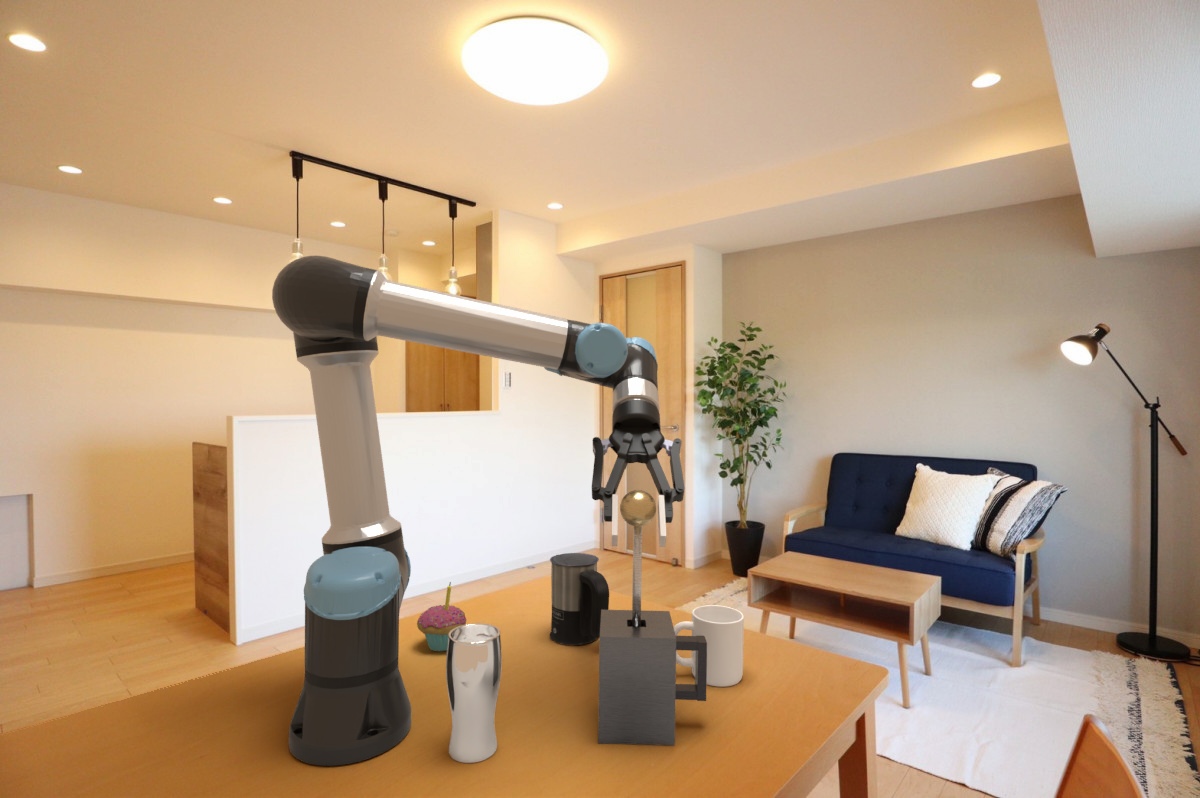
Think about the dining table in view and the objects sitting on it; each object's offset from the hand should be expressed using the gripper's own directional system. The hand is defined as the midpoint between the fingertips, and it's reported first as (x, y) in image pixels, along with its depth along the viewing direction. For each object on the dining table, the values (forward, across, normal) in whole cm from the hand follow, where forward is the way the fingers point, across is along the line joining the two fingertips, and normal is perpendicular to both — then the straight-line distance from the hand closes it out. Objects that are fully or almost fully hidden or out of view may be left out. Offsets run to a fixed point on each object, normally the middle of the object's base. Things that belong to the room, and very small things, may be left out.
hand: (638, 540), depth 80 cm
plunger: (+9, 0, -14) cm, 16 cm away
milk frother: (-6, +7, -44) cm, 44 cm away
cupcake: (-1, +34, -38) cm, 51 cm away
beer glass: (+21, +21, -16) cm, 34 cm away
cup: (+6, -12, -32) cm, 35 cm away
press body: (+16, -2, -21) cm, 27 cm away
